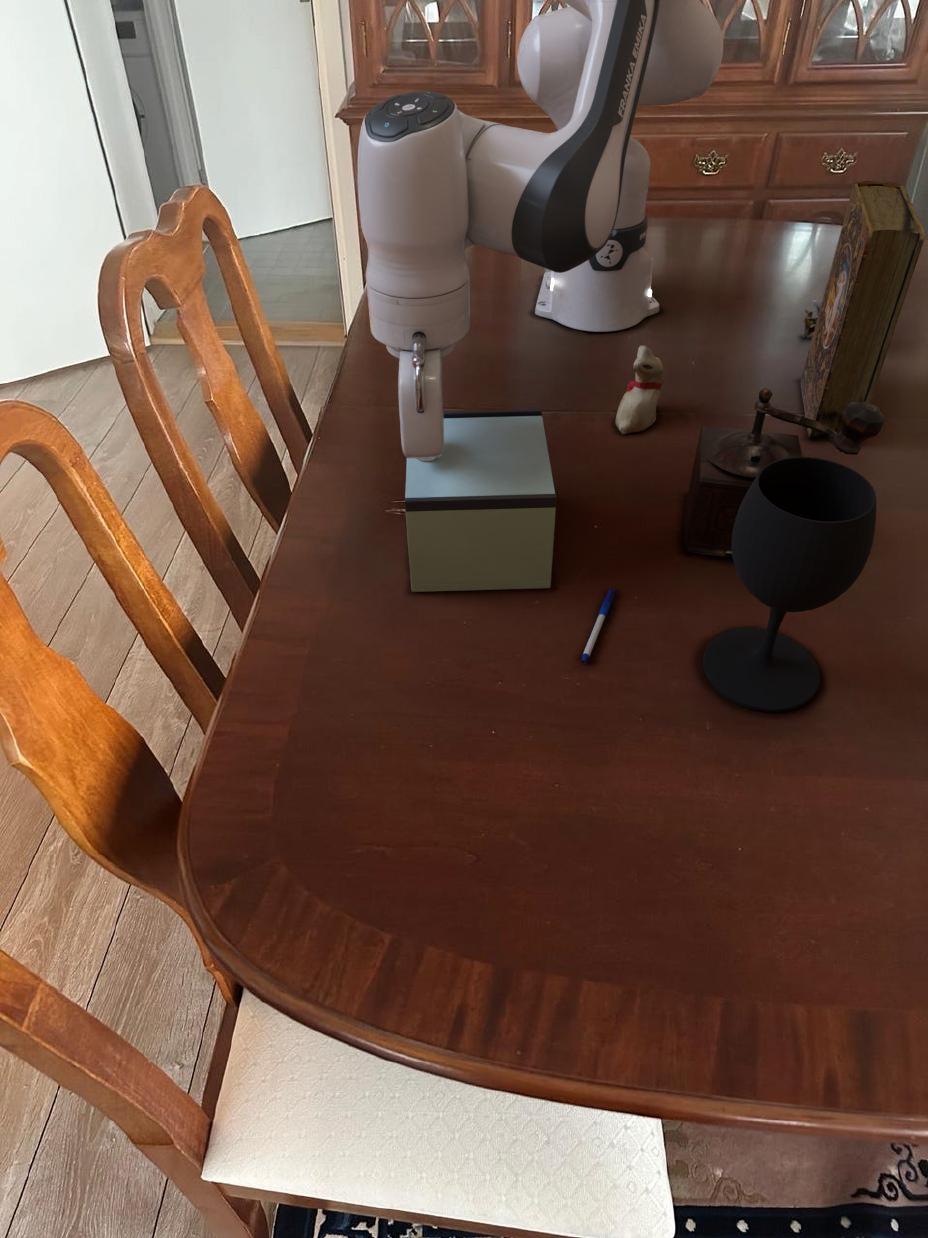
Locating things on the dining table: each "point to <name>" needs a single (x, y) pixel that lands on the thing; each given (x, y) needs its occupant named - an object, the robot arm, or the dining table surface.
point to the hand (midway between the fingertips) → (426, 445)
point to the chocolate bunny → (641, 394)
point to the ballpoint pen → (598, 624)
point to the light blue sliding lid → (485, 460)
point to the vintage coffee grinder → (754, 466)
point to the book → (861, 300)
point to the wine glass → (790, 574)
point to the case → (481, 535)
